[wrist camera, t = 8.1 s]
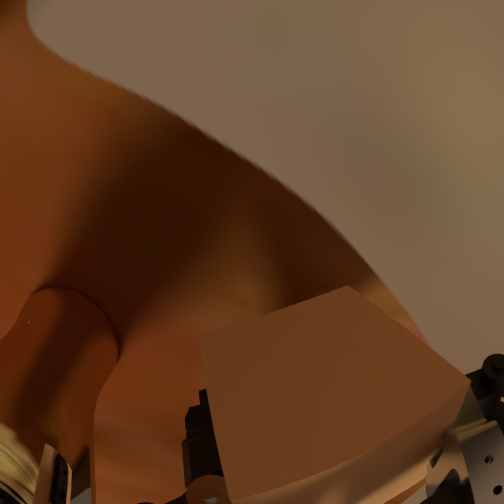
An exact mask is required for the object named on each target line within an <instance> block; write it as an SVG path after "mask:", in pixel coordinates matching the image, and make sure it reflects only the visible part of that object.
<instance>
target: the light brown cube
mask: <svg viewBox="0 0 504 504" xmlns="http://www.w3.org/2000/svg"><path fill="white" fill-rule="evenodd" d="M198 339H199V346H200V352H201V359H202V366H203V372H204V378H205V384H206V390H207V396H208V401H209V407H210V412H211V417H212V423H213V428H214V433H215V438H216V442H217V447H218V452H219V456H220V461H221V465H222V470H223V474H224V478H225V483H226V487H227V491H228V495H229V499H230V501H231V502H232V503H233V504H383V503H384V502H386V501H388V500H390V499H391V498H393V497H395V496H397V495H398V494H400V493H402V492H403V491H405V490H406V489H408V488H410V487H411V486H413V485H414V484H416V483H417V482H419V481H420V480H422V479H423V478H425V476H426V475H427V468H426V466H427V464H428V462H429V460H431V459H432V458H433V457H435V456H436V455H438V454H439V452H440V450H441V448H442V446H443V440H442V434H443V432H444V430H445V428H446V427H447V426H448V425H450V424H451V423H452V422H453V421H455V420H456V418H457V415H458V413H459V411H460V408H461V406H462V404H463V401H464V399H465V396H466V394H467V391H468V388H469V386H470V383H471V380H470V379H469V378H467V377H466V376H465V375H464V374H462V373H461V372H460V371H459V370H457V369H456V368H455V367H454V366H452V365H451V364H450V363H449V362H447V361H446V360H445V359H444V358H442V357H441V356H440V355H439V354H437V353H436V352H435V351H434V350H432V349H431V348H430V347H429V346H427V345H426V344H425V343H423V342H422V341H421V340H420V339H418V338H417V337H416V336H414V335H413V334H412V333H411V332H409V331H408V330H407V329H405V328H404V327H403V326H402V325H400V324H399V323H398V322H396V321H395V320H394V319H392V318H391V317H390V316H388V315H387V314H386V313H384V312H383V311H382V310H381V309H379V308H378V307H377V306H375V305H374V304H373V303H371V302H370V301H369V300H367V299H366V298H365V297H363V296H362V295H361V294H359V293H358V292H356V291H355V290H354V289H352V288H351V287H350V286H348V285H346V286H344V287H341V288H338V289H336V290H333V291H330V292H328V293H325V294H322V295H319V296H317V297H314V298H311V299H308V300H306V301H303V302H300V303H297V304H294V305H291V306H288V307H286V308H283V309H280V310H277V311H274V312H271V313H268V314H265V315H262V316H259V317H256V318H252V319H249V320H246V321H243V322H240V323H237V324H233V325H230V326H227V327H224V328H220V329H217V330H214V331H210V332H207V333H204V334H200V335H198Z"/></svg>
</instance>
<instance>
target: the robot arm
mask: <svg viewBox="0 0 504 504" xmlns="http://www.w3.org/2000/svg"><path fill="white" fill-rule="evenodd" d="M465 376H466V377H467V378H469V379H470V380H471V383H470V386H469V388H468V391H467V394H466V396H465V399H464V401H463V404H462V406H461V408H460V411H459V413H458V415H457V418H456V420H455V421H453V422H452V423H451V424H450V425H448V426H447V427H446V428H445V430H444V432H443V434H442V440H443V446H442V448H441V450H440V452H439V454H438V455H436V456H435V457H433V458H432V459H431V460H429V462H428V464H427V466H426V468H427V480H426V493H427V499H425V500H424V501H423V502H421V503H420V504H504V402H502V401H500V400H501V398H502V397H504V355H502V354H492V355H490V356H488V357H487V358H486V359H485V360H484V363H483V366H482V368H481V369H479V370H476V371H474V372H471V373H469V374H466V375H465ZM199 398H200V405H197V406H193V407H189V410H188V412H187V415H186V417H185V426H186V432H187V433H186V436H187V441H188V442H187V445H188V453H189V461H190V469H191V483H190V485H189V487H188V489H187V491H186V492H185V493H184V494H183V495H182V496H180V497H178V498H177V499H174V500H172V501H170V502H167V503H165V504H233V503H232V502H231V501H230V499H229V495H228V491H227V487H226V483H225V478H224V474H223V470H222V465H221V461H220V456H219V452H218V447H217V442H216V438H215V433H214V428H213V423H212V417H211V412H210V407H209V401H208V396H207V390H206V389H203V390H199ZM138 504H153V503H149V502H142V503H138Z"/></svg>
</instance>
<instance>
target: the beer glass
mask: <svg viewBox="0 0 504 504" xmlns="http://www.w3.org/2000/svg"><path fill="white" fill-rule="evenodd" d="M117 359H118V341H117V336H116V333H115V331H114V328H113V326H112V324H111V322H110V321H109V319H108V318H107V316H106V315H105V314H104V312H103V311H102V310H101V309H100V308H99V307H98V306H97V305H96V304H95V303H94V302H92V301H91V300H90V299H88V298H87V297H86V296H84V295H82V294H80V293H78V292H76V291H74V290H71V289H68V288H64V287H48V288H44V289H41V290H39V291H37V292H36V293H34V294H33V295H32V296H31V297H30V298H29V299H28V301H27V302H26V303H25V305H24V307H23V308H22V310H21V312H20V314H19V316H18V318H17V320H16V322H15V323H14V325H13V327H12V328H11V329H10V331H9V332H8V333H7V334H6V335H5V336H4V337H3V338H2V339H1V340H0V504H96V479H95V457H94V417H95V408H96V403H97V399H98V396H99V393H100V391H101V389H102V387H103V385H104V384H105V382H106V381H107V379H108V378H109V376H110V374H111V373H112V371H113V369H114V367H115V365H116V362H117Z"/></svg>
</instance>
